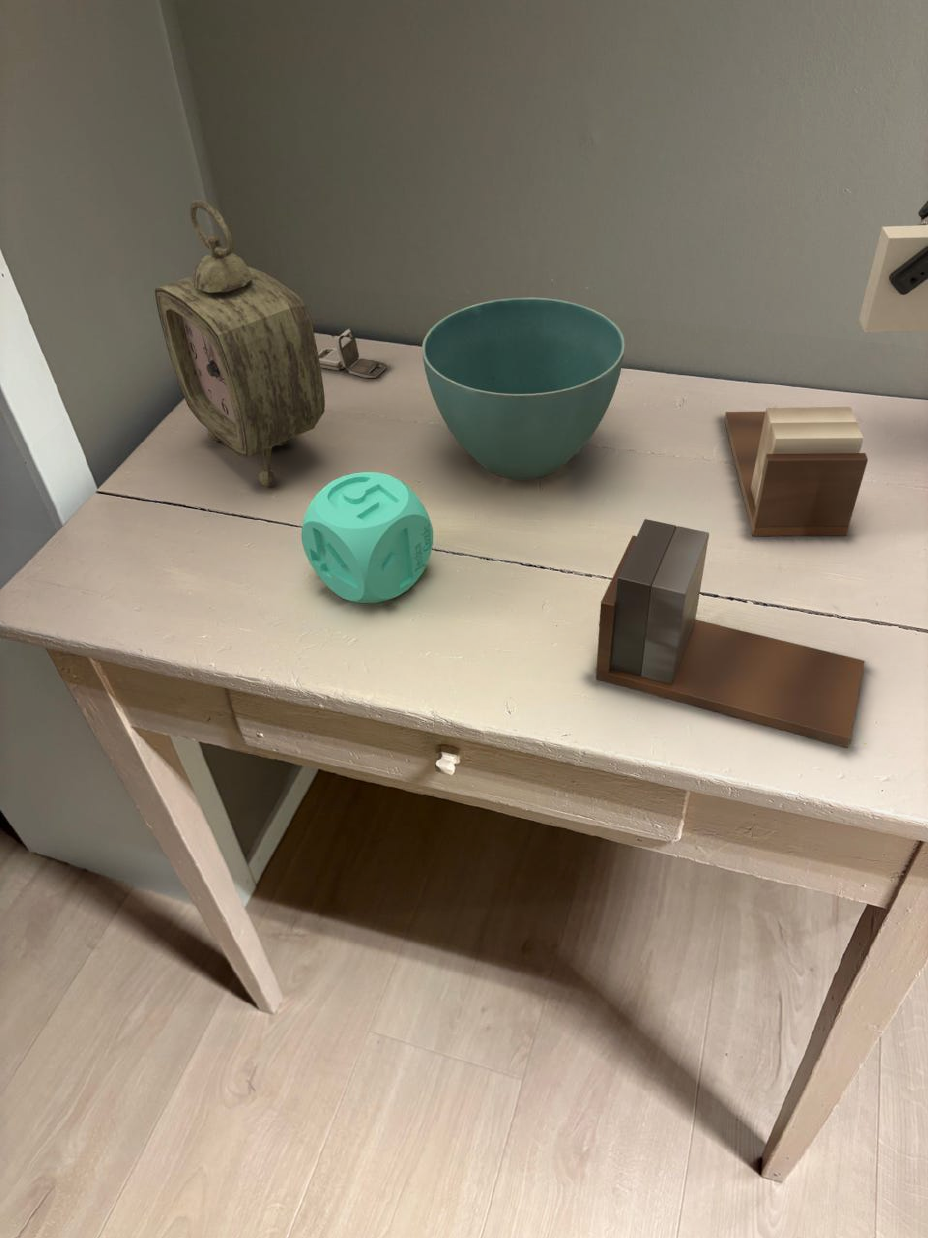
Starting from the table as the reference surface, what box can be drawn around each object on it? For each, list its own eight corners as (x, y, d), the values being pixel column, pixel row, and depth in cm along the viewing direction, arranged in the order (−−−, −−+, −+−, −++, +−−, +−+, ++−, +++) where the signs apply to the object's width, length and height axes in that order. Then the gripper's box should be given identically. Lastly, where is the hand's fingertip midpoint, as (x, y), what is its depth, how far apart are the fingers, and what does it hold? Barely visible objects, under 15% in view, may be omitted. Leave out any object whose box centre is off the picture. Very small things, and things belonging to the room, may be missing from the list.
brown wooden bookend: (861, 669, 72) (897, 567, 65) (847, 747, 67) (884, 646, 60) (625, 611, 78) (634, 511, 71) (595, 679, 73) (602, 579, 66)
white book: (946, 331, 85) (977, 235, 79) (864, 332, 85) (889, 237, 79) (938, 318, 86) (967, 223, 80) (858, 319, 87) (881, 226, 81)
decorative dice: (371, 618, 79) (359, 543, 74) (308, 577, 83) (292, 503, 78) (438, 569, 83) (431, 494, 78) (374, 532, 87) (364, 459, 82)
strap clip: (311, 365, 110) (305, 331, 107) (326, 353, 112) (320, 319, 109) (374, 380, 107) (370, 345, 104) (388, 367, 109) (384, 332, 106)
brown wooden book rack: (846, 535, 84) (873, 443, 77) (752, 536, 84) (771, 444, 78) (804, 419, 97) (824, 332, 90) (724, 420, 98) (737, 333, 91)
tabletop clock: (193, 439, 100) (122, 193, 83) (269, 407, 104) (216, 165, 86) (263, 502, 92) (200, 242, 74) (342, 464, 95) (300, 209, 78)
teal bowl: (484, 392, 104) (479, 283, 95) (643, 428, 97) (654, 315, 89) (398, 483, 93) (384, 368, 84) (572, 531, 86) (576, 413, 77)
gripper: (1039, 58, 77) (847, 217, 86) (1112, 114, 67) (886, 286, 76) (1082, 127, 80) (892, 272, 89) (1158, 190, 70) (936, 346, 80)
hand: (891, 278), depth 83 cm, fingers closed on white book, 2 cm apart
